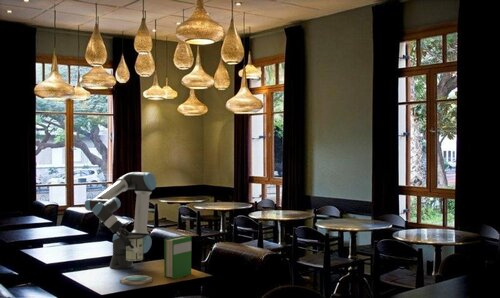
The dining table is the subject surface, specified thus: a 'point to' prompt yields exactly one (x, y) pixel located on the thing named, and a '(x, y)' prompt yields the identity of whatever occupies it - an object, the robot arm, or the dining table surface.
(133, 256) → the coffee can
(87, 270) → the dining table surface
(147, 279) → the hub plate
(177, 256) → the hardback book
